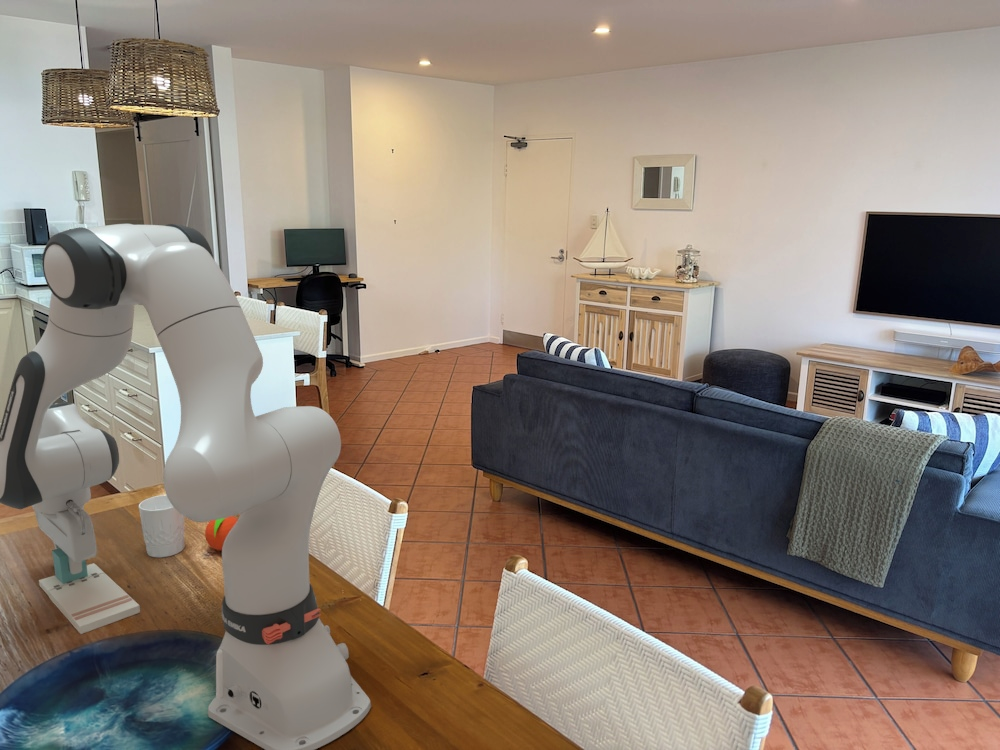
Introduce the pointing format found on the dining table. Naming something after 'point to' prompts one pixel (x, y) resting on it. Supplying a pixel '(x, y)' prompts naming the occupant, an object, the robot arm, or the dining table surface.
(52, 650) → the dining table surface
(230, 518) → the clementine
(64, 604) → the ticket
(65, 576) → the stub
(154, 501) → the white cup
